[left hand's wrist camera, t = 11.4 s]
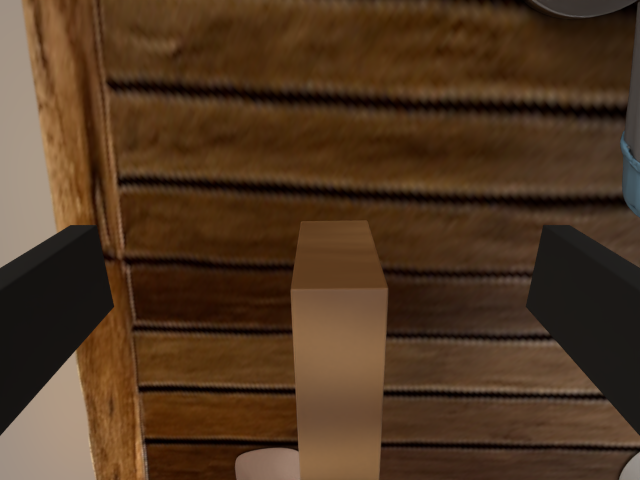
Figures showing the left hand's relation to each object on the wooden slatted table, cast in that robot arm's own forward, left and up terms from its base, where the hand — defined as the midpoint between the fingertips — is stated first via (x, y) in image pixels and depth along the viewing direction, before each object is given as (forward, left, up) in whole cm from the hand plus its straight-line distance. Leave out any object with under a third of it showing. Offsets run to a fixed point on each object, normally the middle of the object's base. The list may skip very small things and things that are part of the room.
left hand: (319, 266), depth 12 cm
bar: (-1, +17, -15) cm, 22 cm away
